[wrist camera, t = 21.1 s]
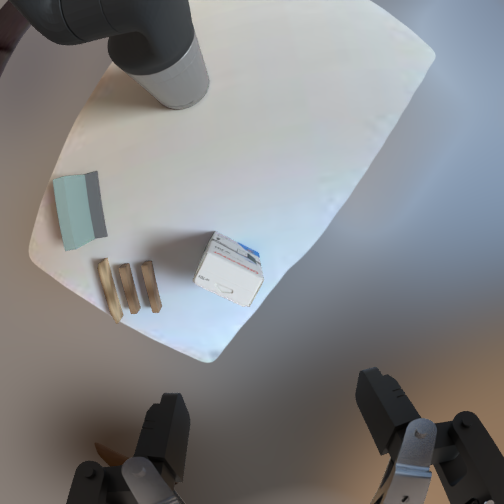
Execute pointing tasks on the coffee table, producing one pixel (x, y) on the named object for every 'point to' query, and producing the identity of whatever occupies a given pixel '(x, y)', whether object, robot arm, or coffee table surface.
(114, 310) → the wooden bar
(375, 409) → the robot arm
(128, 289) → the walnut slot block
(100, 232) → the rubber mat
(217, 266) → the ink box
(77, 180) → the grey-green rectangular block
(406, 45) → the coffee table surface
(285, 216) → the coffee table surface
